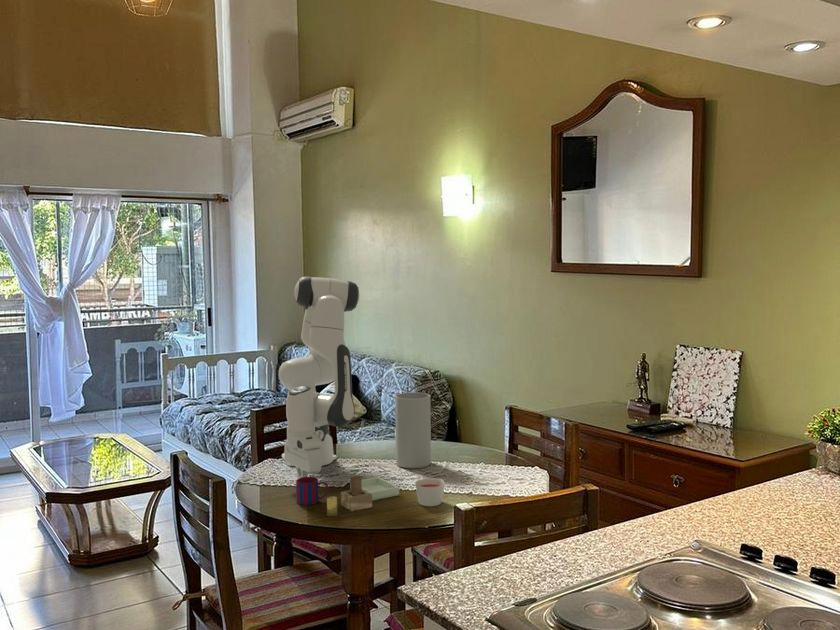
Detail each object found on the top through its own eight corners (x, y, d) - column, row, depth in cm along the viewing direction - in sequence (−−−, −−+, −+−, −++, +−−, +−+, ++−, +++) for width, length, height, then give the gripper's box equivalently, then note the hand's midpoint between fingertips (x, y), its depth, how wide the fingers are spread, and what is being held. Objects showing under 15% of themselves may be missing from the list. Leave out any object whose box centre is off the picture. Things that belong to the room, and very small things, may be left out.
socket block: (340, 504, 234) (340, 492, 233) (361, 500, 237) (361, 488, 237) (351, 511, 228) (351, 498, 227) (372, 507, 231) (372, 494, 231)
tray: (350, 489, 248) (350, 482, 248) (378, 484, 254) (378, 476, 253) (370, 500, 237) (369, 493, 237) (399, 494, 242) (399, 487, 242)
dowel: (349, 505, 233) (348, 476, 232) (358, 503, 235) (358, 474, 234) (354, 508, 230) (353, 479, 229) (363, 506, 232) (363, 477, 231)
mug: (301, 497, 241) (301, 476, 241) (331, 499, 239) (331, 478, 238) (293, 504, 235) (292, 482, 234) (323, 506, 232) (323, 484, 232)
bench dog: (325, 514, 225) (325, 497, 225) (334, 512, 227) (334, 495, 226) (329, 517, 223) (329, 500, 222) (339, 515, 224) (338, 498, 224)
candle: (422, 509, 229) (422, 488, 228) (410, 500, 237) (410, 480, 236) (449, 505, 232) (449, 484, 232) (437, 496, 240) (437, 476, 240)
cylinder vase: (420, 471, 268) (419, 400, 266) (389, 466, 275) (388, 397, 273) (437, 462, 279) (436, 394, 277) (407, 457, 285) (406, 391, 283)
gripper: (278, 434, 250) (280, 475, 251) (305, 445, 233) (307, 490, 234) (296, 431, 254) (298, 472, 255) (324, 442, 237) (326, 486, 238)
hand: (302, 481), depth 244 cm, fingers closed
